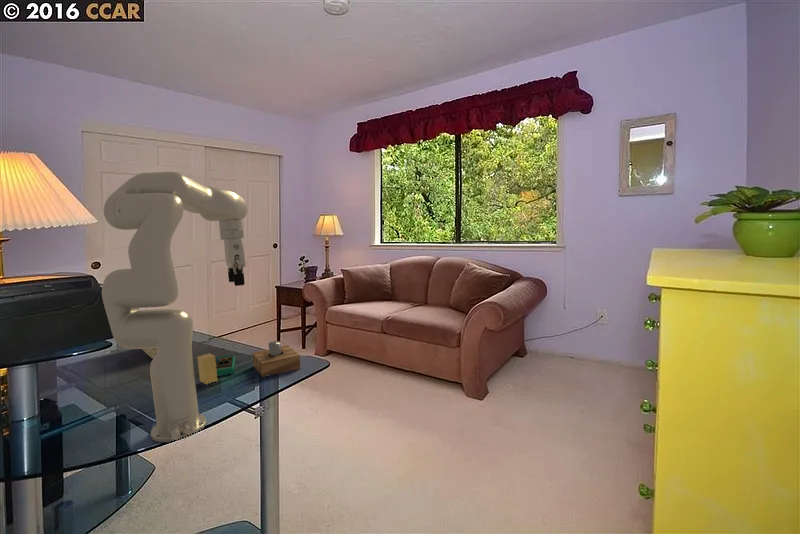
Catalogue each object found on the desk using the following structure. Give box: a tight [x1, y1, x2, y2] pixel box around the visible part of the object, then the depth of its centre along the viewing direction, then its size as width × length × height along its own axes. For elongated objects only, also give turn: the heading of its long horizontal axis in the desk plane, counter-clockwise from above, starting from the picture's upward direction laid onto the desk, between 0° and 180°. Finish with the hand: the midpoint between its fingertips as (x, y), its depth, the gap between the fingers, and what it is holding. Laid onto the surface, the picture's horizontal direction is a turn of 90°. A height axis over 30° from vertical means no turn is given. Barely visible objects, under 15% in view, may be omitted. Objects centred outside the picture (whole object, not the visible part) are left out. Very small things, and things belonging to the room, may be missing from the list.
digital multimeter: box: [215, 355, 236, 376], centre depth 146 cm, size 7×15×3 cm, turn 20°
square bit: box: [196, 352, 218, 384], centre depth 134 cm, size 4×4×9 cm
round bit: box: [268, 340, 282, 357], centre depth 145 cm, size 4×4×9 cm
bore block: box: [251, 344, 301, 378], centre depth 145 cm, size 13×13×5 cm
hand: (236, 283), depth 144 cm, fingers open, 9 cm apart
